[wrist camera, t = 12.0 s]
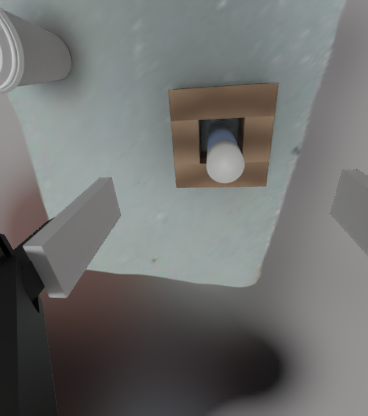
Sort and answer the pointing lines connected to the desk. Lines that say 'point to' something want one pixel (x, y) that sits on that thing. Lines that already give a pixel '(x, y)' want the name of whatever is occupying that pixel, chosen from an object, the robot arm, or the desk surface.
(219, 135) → the marker
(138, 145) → the desk surface
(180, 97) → the socket block
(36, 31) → the coffee cup
